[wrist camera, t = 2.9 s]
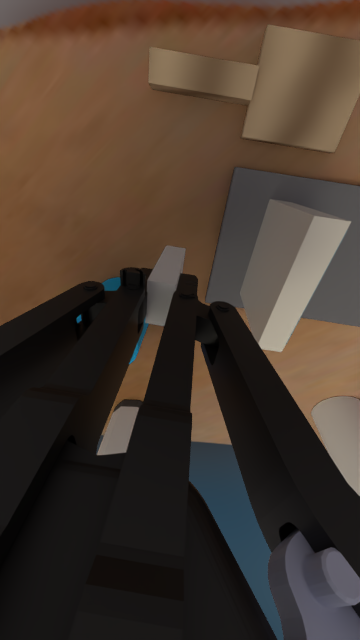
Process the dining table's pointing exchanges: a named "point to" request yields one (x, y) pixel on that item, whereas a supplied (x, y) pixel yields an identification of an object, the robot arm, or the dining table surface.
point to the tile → (287, 268)
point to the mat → (244, 225)
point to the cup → (341, 434)
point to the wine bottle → (120, 428)
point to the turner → (275, 86)
